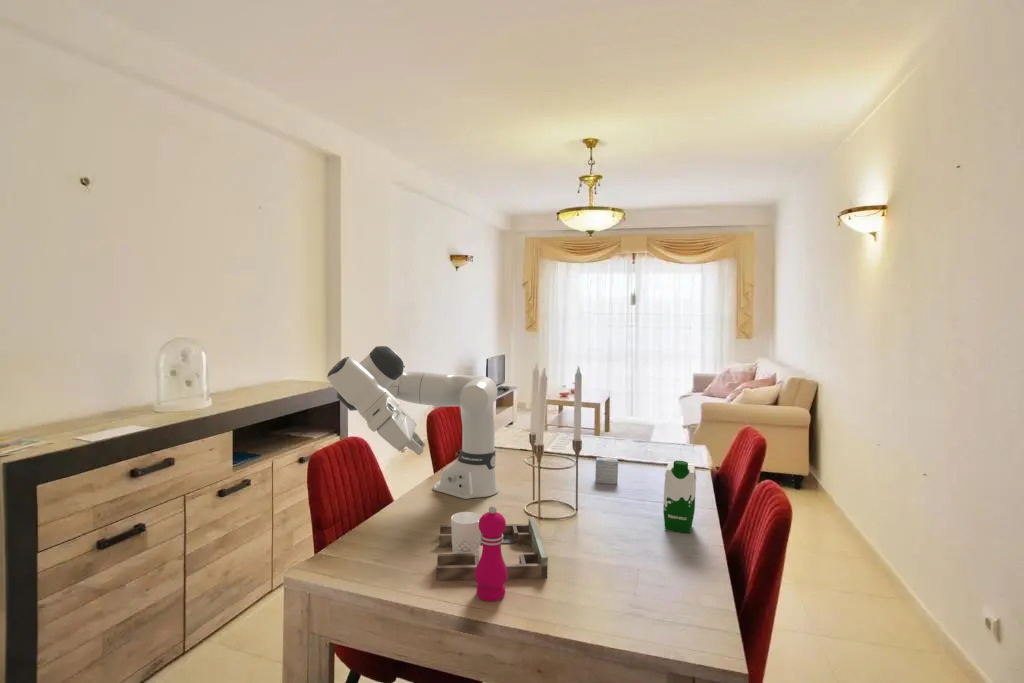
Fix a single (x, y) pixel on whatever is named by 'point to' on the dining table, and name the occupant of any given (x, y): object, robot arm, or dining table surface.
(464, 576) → the organizer tray
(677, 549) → the dining table surface
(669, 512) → the milk carton
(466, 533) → the white cup
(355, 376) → the robot arm
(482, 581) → the pepper mill
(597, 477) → the medicine box
